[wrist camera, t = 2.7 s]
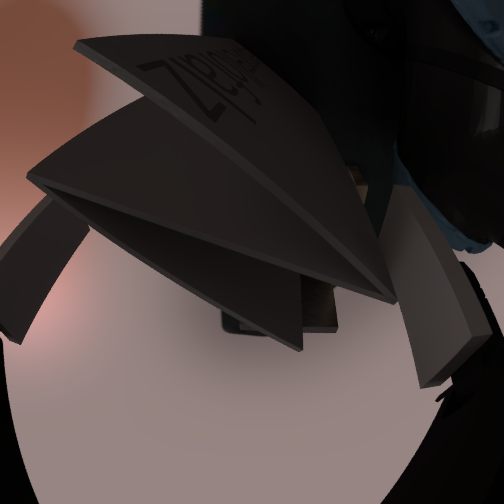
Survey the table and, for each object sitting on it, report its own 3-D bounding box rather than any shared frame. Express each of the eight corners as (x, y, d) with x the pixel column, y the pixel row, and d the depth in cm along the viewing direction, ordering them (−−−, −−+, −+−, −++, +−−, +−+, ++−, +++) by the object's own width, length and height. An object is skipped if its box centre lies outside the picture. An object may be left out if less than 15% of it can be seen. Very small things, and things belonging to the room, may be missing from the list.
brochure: (317, 111, 33) (399, 301, 10) (287, 138, 36) (299, 352, 13) (232, 39, 27) (77, 39, 5) (204, 70, 30) (26, 177, 8)
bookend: (328, 260, 49) (338, 327, 39) (327, 266, 50) (336, 332, 40) (248, 256, 50) (239, 323, 40) (248, 262, 51) (240, 329, 41)
